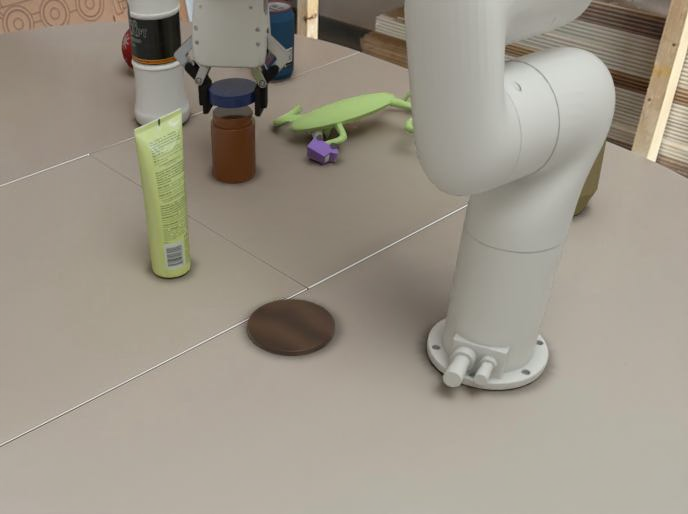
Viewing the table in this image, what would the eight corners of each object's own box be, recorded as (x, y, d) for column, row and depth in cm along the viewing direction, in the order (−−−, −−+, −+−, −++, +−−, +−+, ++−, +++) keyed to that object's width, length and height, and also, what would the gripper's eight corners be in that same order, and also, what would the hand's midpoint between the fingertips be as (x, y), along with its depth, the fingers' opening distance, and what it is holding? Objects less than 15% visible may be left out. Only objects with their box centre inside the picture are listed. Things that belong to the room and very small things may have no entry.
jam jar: (243, 186, 120) (241, 123, 113) (205, 178, 122) (201, 116, 116) (263, 168, 124) (262, 106, 117) (225, 160, 126) (223, 99, 120)
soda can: (247, 77, 149) (246, 6, 141) (273, 66, 153) (274, -4, 144) (274, 86, 146) (275, 14, 137) (301, 75, 149) (303, 4, 141)
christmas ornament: (177, 66, 155) (173, 9, 148) (157, 83, 150) (152, 25, 143) (137, 61, 158) (131, 5, 151) (116, 78, 152) (109, 21, 146)
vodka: (188, 130, 134) (174, -79, 114) (132, 132, 135) (108, -76, 114) (192, 107, 141) (179, -95, 120) (138, 109, 142) (116, -92, 121)
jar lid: (232, 85, 118) (232, 74, 117) (268, 96, 115) (268, 84, 114) (198, 100, 115) (197, 89, 114) (234, 112, 111) (233, 100, 110)
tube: (153, 256, 107) (137, 108, 94) (192, 254, 107) (181, 106, 94) (150, 280, 103) (133, 129, 90) (191, 279, 103) (179, 127, 90)
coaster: (312, 365, 90) (313, 361, 89) (232, 340, 93) (232, 336, 93) (348, 316, 96) (348, 311, 95) (271, 295, 100) (271, 290, 99)
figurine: (461, 158, 123) (467, 121, 119) (283, 171, 122) (284, 135, 119) (430, 107, 136) (434, 73, 132) (269, 119, 136) (269, 85, 132)
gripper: (301, -36, 105) (299, 103, 117) (171, -37, 109) (182, 98, 121) (290, -19, 99) (289, 125, 112) (154, -20, 103) (167, 119, 115)
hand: (233, 110), depth 116 cm, fingers closed on jar lid, 6 cm apart
